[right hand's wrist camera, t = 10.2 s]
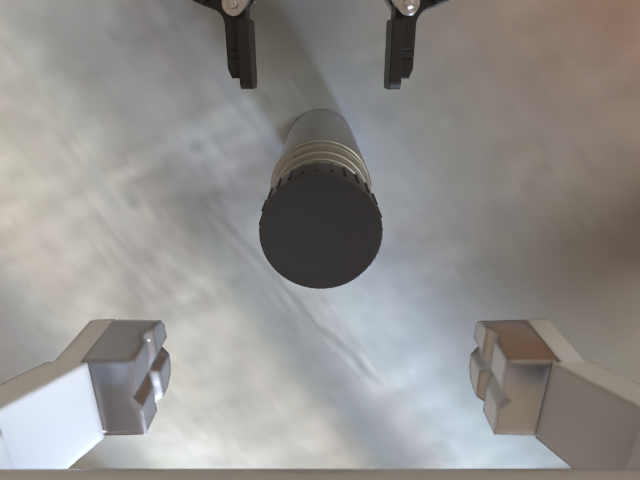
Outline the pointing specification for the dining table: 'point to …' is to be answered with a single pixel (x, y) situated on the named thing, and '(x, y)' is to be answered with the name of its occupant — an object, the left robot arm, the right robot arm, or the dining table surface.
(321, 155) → the bottle
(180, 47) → the dining table surface
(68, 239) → the dining table surface
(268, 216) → the cap
